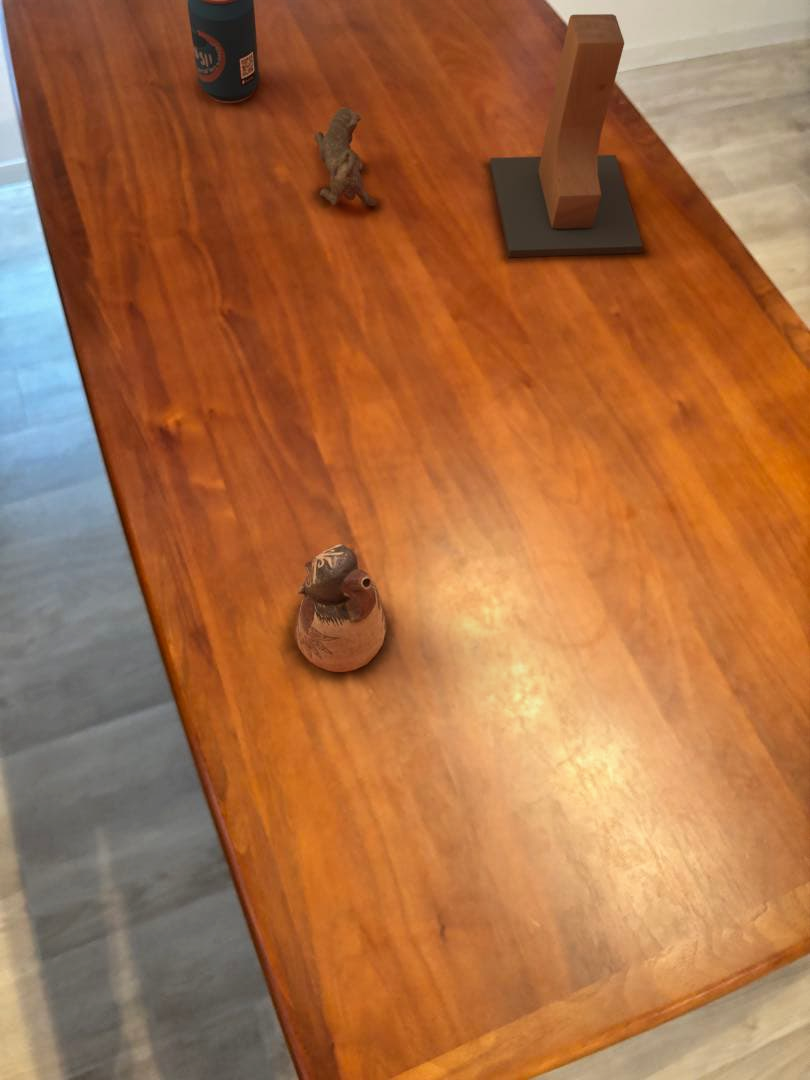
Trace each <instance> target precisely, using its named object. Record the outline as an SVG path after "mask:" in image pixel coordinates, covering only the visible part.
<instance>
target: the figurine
mask: <svg viewBox="0 0 810 1080" xmlns="http://www.w3.org/2000/svg"><path fill="white" fill-rule="evenodd" d="M304 567H305V569H306V573H307V575H306V577H305V580H304V582H303V583H302V584H301V585H300V586H299V588H298V590H297V593H298V594H299V595H303V597H302V600H301V603H300V606H299V610H298V612H297V616H296V621H295V626H294V638H295V641H296V644H297V646H298V648H299V650H300V651H301V653H302V654H303V656H304V657H305V658H306V659H307V660H308V661H309V663H312V664H313V665H315V666H316V667H317V668H320V669H323V670H324V671H329V672H334V673H345V672H350V671H354V670H357V669H360V668H362V667H364V666H366V665H368V664H369V663H370V662H371V660H373V658H374V657H376V656H377V654H378V652H379V650H380V649H381V647H382V646H383V644H384V640H385V636H386V632H387V625H386V624H387V622H386V616H385V611H384V607H383V603H382V600H381V596H380V594H379V591H378V589H377V586H376V583H375V580H373V578H372V577H371V576H370V575H369V574H368V573H367V572H366V571H364V570H363V569H361V568H359V563H358V558H357V555H356V553H355V552H354V550H352V549H351V548H349V547H347V546H345V545H344V544H342V543H338V544H335V545H334V546H331V547H329V548H327V549H324V550H323V551H322V552H320V553H318V554H317V555H316V556H315V557H314V558H313V559H312V560H309V561H307V562H305V564H304Z"/></svg>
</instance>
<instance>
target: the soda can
mask: <svg viewBox="0 0 810 1080" xmlns="http://www.w3.org/2000/svg"><path fill="white" fill-rule="evenodd" d="M186 3H187V12H188V18H189V25H190V33H191V40H192V48H193V55H194V63H195V69H196V76H197V77H196V78H197V82H198V84H199V86H200V87H201V89H202V90H203V91H204V92H205V93H206V95H207V96H208V97H209V98H211V99H212V100H214V101H216V102H218V103H223V104H235V103H236V104H237V103H240V102H243V101H246V100H247V99H248V98H250V97H251V96H252V95H253V93H254V92H255V90H256V89H257V87H258V85H259V82H260V78H261V75H260V63H259V51H258V50H259V49H258V38H257V26H256V25H257V24H256V15H255V2H254V0H186Z"/></svg>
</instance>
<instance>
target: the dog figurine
mask: <svg viewBox="0 0 810 1080" xmlns="http://www.w3.org/2000/svg"><path fill="white" fill-rule="evenodd" d="M361 120H362V117H361V116H360V114H358V112H357V111H356V110H354V109H351V108H349V107H346V106H341V107H340V109H338V110H337V111H336V112H335V113H334V115H332V118H331V120H330V122H329V124H328V128H327V129H326V132H325V134H324V133H323V132H322V131H317V132H315V133H314V140H315V142H316V143H317V144H318V152H319V156H320V158H321V160H322V162H323V163H324V165H325V168H326V170H327V172H328V174H329V175H330V177H329V180H328V183H329V187H330V189H329V188H328V187H323V189H321V190H320V192H319V195H320V197H323V198H324V199H325V200H326V201H327V202H329V203H330V205H332V206H334V207H335V206H336V205H338V203H339V201H340V198H341V197H342V196H343V197H344V198H345V199H347V200H348V201H352V200H354V199H355V197H356V196H357V197H358V198H359V199H360V200H361V202H362V203H363V204H364V205H366V206H368V207H376V206H377V205H378V203H377V199H375V198H373V197H371V196H370V195H369V194H368V192H367V191H366V187H365V184H364V181H363V177H362V174H361V172H360V171H361V170H362V169H363V167H364V165H363V163H362V162H361V159H360V156H359V154H358V153H357V152H355V151H354V149H353V148H352V147H351V143H352V141H353V133H354V131H355V130H356V129H357V127H358V123H359V122H360V121H361Z"/></svg>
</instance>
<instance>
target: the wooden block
mask: <svg viewBox="0 0 810 1080" xmlns="http://www.w3.org/2000/svg"><path fill="white" fill-rule="evenodd" d="M563 42H564V43H563V46H562V52H561V57H560V63H559V67H558V71H557V77H556V82H555V86H554V92H553V96H552V101H551V105H550V110H549V116H548V120H547V125H546V129H545V135H544V139H543V143H542V144H543V145H542V150H541V155H540V157H541V159H540V164H539V169H538V172H539V177H540V181H541V185H542V190H543V194H544V198H545V202H546V206H547V211H548V215H549V219H550V223H551V227H552V228H553V229H569V228H591V227H592V226H593V223H594V220H595V216H596V212H597V209H598V205H599V202H600V198H601V190H600V185H599V179H598V155H599V149H600V143H601V137H602V132H603V127H604V123H605V119H606V116H607V112H608V108H609V105H610V101H611V96H612V93H613V88H614V85H615V82H616V78H617V73H618V70H619V66H620V62H621V58H622V55H623V50H624V46H625V40H624V36H623V33H622V31H621V27H620V25H619V21H618V19H617V15H615V14H612V13H605V14H604V13H600V14H596V13H595V14H594V13H593V14H592V13H591V14H590V13H589V14H581V13H580V14H571V15H570V16H569V18H568V23H567V28H566V32H565V38H564V41H563Z"/></svg>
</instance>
